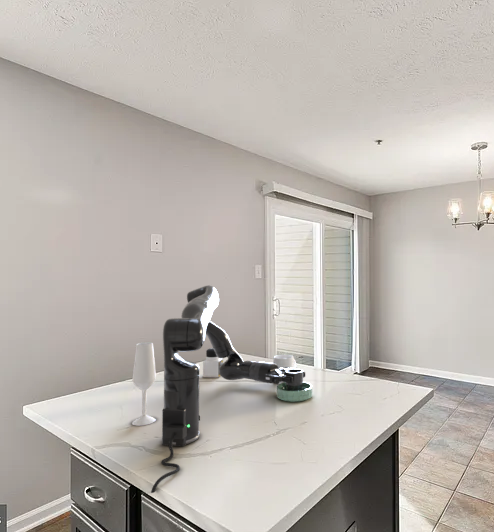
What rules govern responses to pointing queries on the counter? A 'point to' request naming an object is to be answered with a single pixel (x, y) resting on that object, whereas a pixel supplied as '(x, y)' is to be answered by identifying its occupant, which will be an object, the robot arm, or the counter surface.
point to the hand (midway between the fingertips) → (298, 377)
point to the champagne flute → (144, 376)
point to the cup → (295, 380)
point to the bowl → (294, 393)
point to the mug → (284, 361)
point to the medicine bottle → (211, 364)
